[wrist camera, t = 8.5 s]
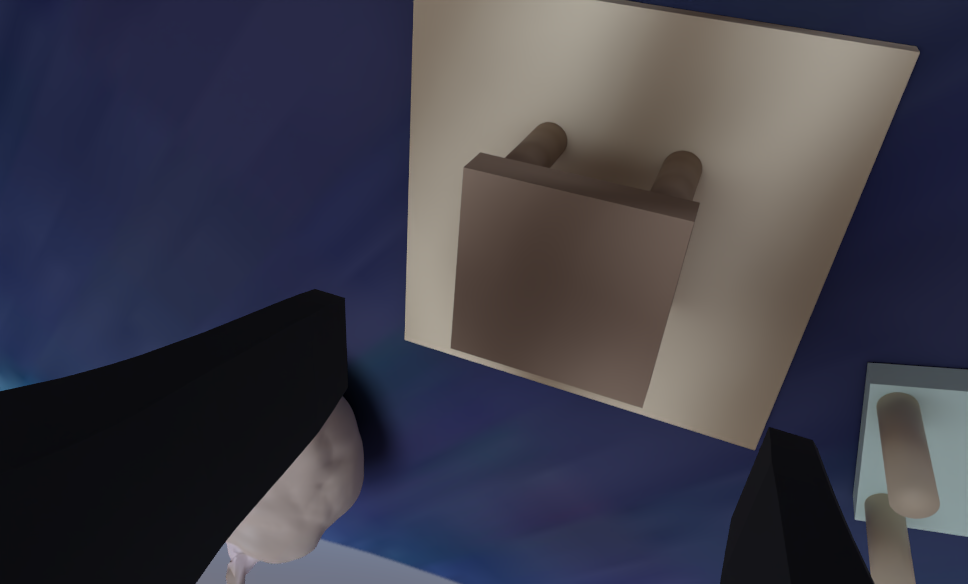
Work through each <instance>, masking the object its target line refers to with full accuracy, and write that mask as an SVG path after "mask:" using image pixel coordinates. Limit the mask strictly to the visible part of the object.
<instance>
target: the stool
mask: <svg viewBox="0 0 968 584" xmlns="http://www.w3.org/2000/svg"><path fill="white" fill-rule="evenodd" d="M566 147H567V136H566V133H565V131H564V130H563V129H562V128H561V127H560V126H559V125H557V124H555V123H552V122H545V123H542V124H540V125H538V126H537V127H536V128H535V129H534V130H533V131H532V132H531V133H530V134H529V135H528V136H527V137H526V138H525V139H524V140H523V141H522V142H521V143H520V144H519V145H518V146H517V147H516V148H514V149H513V150H512V151H511V152H510V153H509V154H508V155H507V156H506V157H505V158H503V157H499V156H494V155H490V154H486V153H481V152H480V153H479V154H478V155H477V156H476V157H474V158H473V159H472V160H471V161H470V162H469V163H468V164H467V165H465V166H464V167H463V180H462V194H461V208H460V222H459V236H458V250H457V264H456V278H455V292H454V306H453V320H452V334H451V349H454V350H458V351H461V352H464V353H467V354H470V355H474V356H477V357H480V358H483V359H486V360H490V361H493V362H496V363H499V364H502V365H505V366H509V367H512V368H515V369H518V370H521V371H525V372H528V373H531V374H534V375H537V376H541V377H544V378H547V379H550V380H553V381H557V382H560V383H563V384H566V385H569V386H573V387H576V388H579V389H582V390H585V391H589V392H592V393H595V394H598V395H601V396H604V397H608V398H611V399H614V400H617V401H620V402H624V403H627V404H630V405H633V406H636V407H640V408H643V405H644V401H645V398H646V395H647V391H648V388H649V385H650V381H651V378H652V374H653V370H654V367H655V363H656V360H657V356H658V352H659V349H660V345H661V342H662V338H663V334H664V331H665V327H666V324H667V320H668V317H669V313H670V309H671V306H672V302H673V299H674V295H675V291H676V288H677V284H678V281H679V277H680V273H681V270H682V266H683V263H684V259H685V255H686V252H687V248H688V245H689V241H690V238H691V234H692V230H693V227H694V223H695V220H696V216H697V212H698V209H699V205H700V203H699V202H695V201H693V198H694V195H695V192H696V189H697V186H698V183H699V180H700V177H701V174H702V164H701V161H700V159H699V158H698V157H697V156H696V155H695V154H693V153H692V152H689V151H685V150H681V151H676V152H673V153H671V154H670V155H669V156H668V157H667V158H666V159H665V161H664V163H663V165H662V167H661V169H660V171H659V173H658V176H657V178H656V180H655V182H654V184H653V186H652V188H651V190H650V191H647V190H642V189H638V188H634V187H629V186H625V185H621V184H616V183H612V182H608V181H603V180H599V179H595V178H590V177H586V176H581V175H577V174H573V173H568V172H564V171H560V170H555V169H551V166H552V165H553V164H554V163H555V162H556V160H557V159H558V158H559V157H560V156H561V155H562V153H563V152H564V151H565V149H566Z"/></svg>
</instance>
